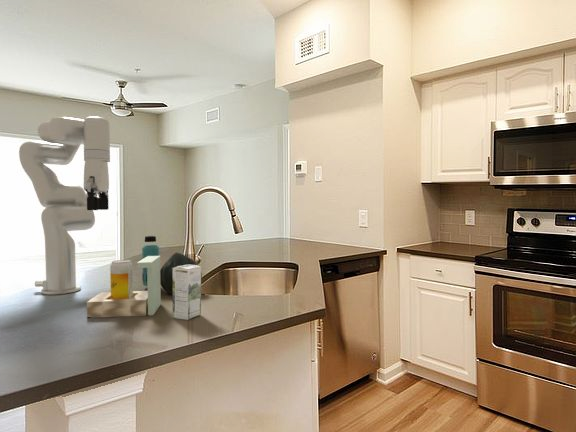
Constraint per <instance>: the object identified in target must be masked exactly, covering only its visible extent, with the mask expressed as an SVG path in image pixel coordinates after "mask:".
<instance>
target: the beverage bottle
mask: <svg viewBox="0 0 576 432" xmlns="http://www.w3.org/2000/svg"><path fill="white" fill-rule="evenodd" d="M144 242H145V243H154V242H157V237H156V235H155V236H154V235H147V236H144ZM141 253H142V255H141V260H142V259H144V258H145V257H147V256H160V246H158V245H157V244H145V245H143V246H142V248H141ZM141 270H142V273H141V274H142V275H141V276H142V277H141V280H142V285H143V286H144V287H148V285H147V268H141Z"/></svg>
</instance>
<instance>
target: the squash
mask: <svg viewBox="0 0 576 432" xmlns="http://www.w3.org/2000/svg"><path fill="white" fill-rule="evenodd" d="M183 265H197V266H200V265H199V264H198V263H197V262H196V261H195V260H194V259H192V258H191V257H188V256H186V255H185V254H182V253H180V252H175V253H173V254H172V255H171V256H170V257H169V259H168V260H166V262H165V263H164V264H163V266H162V267H160V285H161V288H162V289H163V290H164V292H165V293H168V294H172V295H173V268H174V267H178V266H183ZM202 275H203V273H202V272H201V281H202V279H203V278H202V277H203V276H202Z"/></svg>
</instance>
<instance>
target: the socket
mask: <svg viewBox="0 0 576 432" xmlns="http://www.w3.org/2000/svg"><path fill="white" fill-rule="evenodd" d="M147 315H148V290H137V291H136V290H133V298H132V299H111V291H107V292H105V291H103V292H102V291H101V292H100V293H98V294H97V295H95V296H93V297H92V298H90V299H89V300H88V301H86V318H87V317H95V318H113V317H117V318H119V317H134V316H135V317H137V316H138V317H140V316H142V317H143V316H147Z"/></svg>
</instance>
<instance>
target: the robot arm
mask: <svg viewBox="0 0 576 432" xmlns="http://www.w3.org/2000/svg"><path fill="white" fill-rule="evenodd" d="M37 135H38V137H39V138H40V139H41V140H42V141H41V140H40V141H39V140H29V141H26V142H23V143H22V144H20V146H19V152H18V155H19V161H20V165H21V168H22V169H23V171H24V173H26V175H27V176H28V178H29V179H30V181H31V183H32V185H33V189H34V191H35V194H36V196H37V199H38V201H39V203H40V205H41V206H42V207H43V208H44V209H43V211H41V213H40V214H41V217H40V218H41V224H42V229H43V234H44V248H45V279H44V280H35V282H34V286H35V287H36V288H38V287H39V288H40V287H42V289H41V291H40V293H41V294H42V295H48V296H49V295H50V296H51V295H52V296H53V295H55V296H57V295H65V294H71V293H75V292H78V291H80V290H81V288H82V287H81V285H80V284H77V275H76V274H77V273H76V271H77V270H76V269H77V267H76V242H75V240H74V238H73V237H72V236H71V235H70V234H69V232H74V231H87V230H90V229H92V228H93V227H94V225H95V222H96V216H95V213H94V211H99V210H100V211H102V210H103V211H107V210H109V189H110V178H109V177H110V176H109V165H108V163H110V162H111V149H110V148H111V145H110V143H111V140H110V135H111V134H110V122H109V120H108V119H107V118H104V117H100V116H88V117H85V118H84V119H81V118H74V117H67V116H54V117H52V118H51V119H50V120H45V121H43V122H41V123H40V124H39V126H38V127H37ZM81 144H83V161H84V168H83V187H82V186H80V185H78V184H75V183H62V182H60V181H59V179H58V176H57V175H56V173H55V172H54V171H53V170H52V169H51V168H50V167H48V166H47V165H56V166H57V165H59V166H66V165H67V166H68V165H69V164H70V163H71V162H72V161H73V159H74V157H75V155H76V154H77V152H78V150H79V148H80V147H81Z"/></svg>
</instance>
